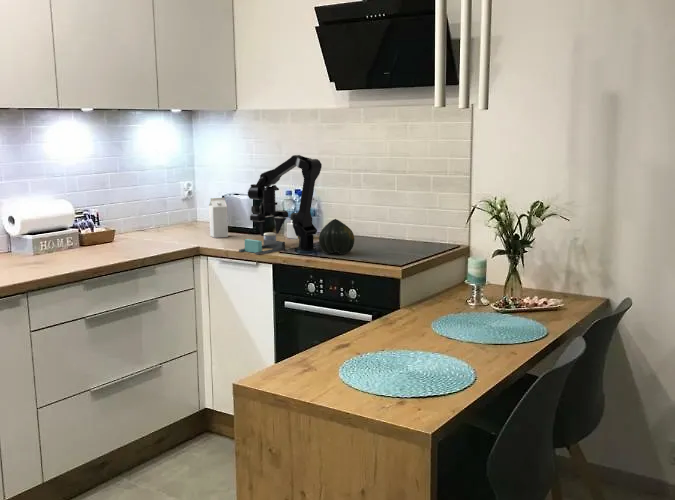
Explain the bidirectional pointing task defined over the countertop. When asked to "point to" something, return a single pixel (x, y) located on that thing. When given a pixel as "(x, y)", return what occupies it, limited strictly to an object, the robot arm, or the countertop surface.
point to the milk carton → (218, 218)
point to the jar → (270, 236)
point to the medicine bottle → (291, 229)
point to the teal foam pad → (253, 245)
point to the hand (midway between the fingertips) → (269, 234)
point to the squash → (336, 238)
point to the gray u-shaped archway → (270, 246)
